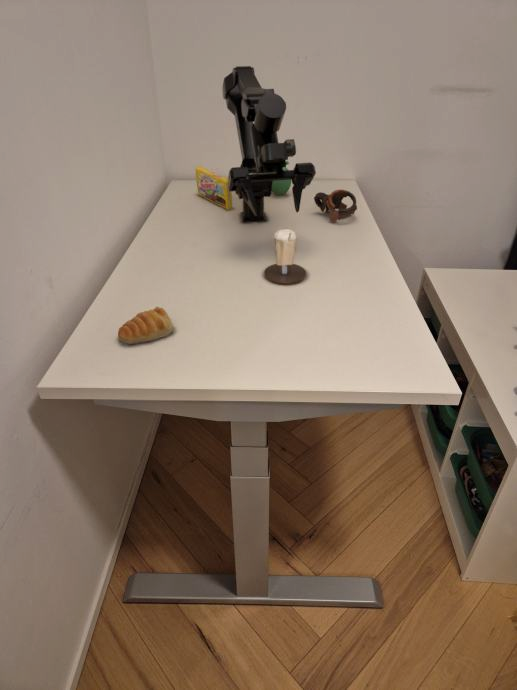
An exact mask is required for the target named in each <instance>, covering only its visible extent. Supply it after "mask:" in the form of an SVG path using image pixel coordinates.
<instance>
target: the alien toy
mask: <svg viewBox="0 0 517 690" xmlns="http://www.w3.org/2000/svg"><path fill="white" fill-rule="evenodd" d="M289 164H290V162H289V161H288V160H286V166H285V167H283V171H286V170H289V169H288V168H287V165H289ZM291 186H292V179H291V180H278V181H273V183H272V191H271V193H273V194H274V195H275V196H283V195H286V194H287V192H288V191H289V190H290V188H291Z"/></svg>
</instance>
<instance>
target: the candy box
mask: <svg viewBox="0 0 517 690" xmlns="http://www.w3.org/2000/svg"><path fill="white" fill-rule="evenodd" d="M194 169H195V179H196V188H197V194H198V196H200V197H202V198H204V199H206V200H208V201H210V202H212V203H213V204H215V205H218V206H219V207H221V208H223V209H225V210H227V211H230V210H232V209H233V199H232V198H233V196H232V192H231V191H229V187H228V177H225V176H222V175H220V174H218V173H216V172H213V171H211V170H209V169H207V168H204V167H202V166H197V167H195V168H194Z"/></svg>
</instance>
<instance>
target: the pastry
mask: <svg viewBox="0 0 517 690" xmlns="http://www.w3.org/2000/svg"><path fill="white" fill-rule="evenodd" d="M173 331H174V324H173V322H172V320H171V318H170V316H169V314H168V312H167V311H166V310H165V309H164V308H163V307H159V306H155V307H154V308H153V309H149V310H144V311H140V312H137V314H136V315H135V316H134V317H131V319H130V320H127V321H126V322H125V323H124V324H122V325H121V326H120V327H119V328H118V331H117V338H118V339H119V341H121V342H123V343H125V344H129V345H130V344H131V345H133V344H140V343H147V342H151V341H155V340H158V339H160V338H162V337H167V336H169V335H171V334H172V332H173Z"/></svg>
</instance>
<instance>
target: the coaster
mask: <svg viewBox="0 0 517 690" xmlns="http://www.w3.org/2000/svg"><path fill="white" fill-rule="evenodd" d="M263 275H264V278H265V279H266V280H267V281H269V282H270V283H272V284H276V285H282V286H290V285H295V284H299V283H301V282H303V281H304V280H305V279H306V278H307V271H306V269H305V268H304V267H302V266H301V265H298V264H296V263H293V267H292V271H291V273H289V274H281V273H278V271H277V264H276V263H274V264H271V265H269V266H267V267H265V270H264V274H263Z"/></svg>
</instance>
